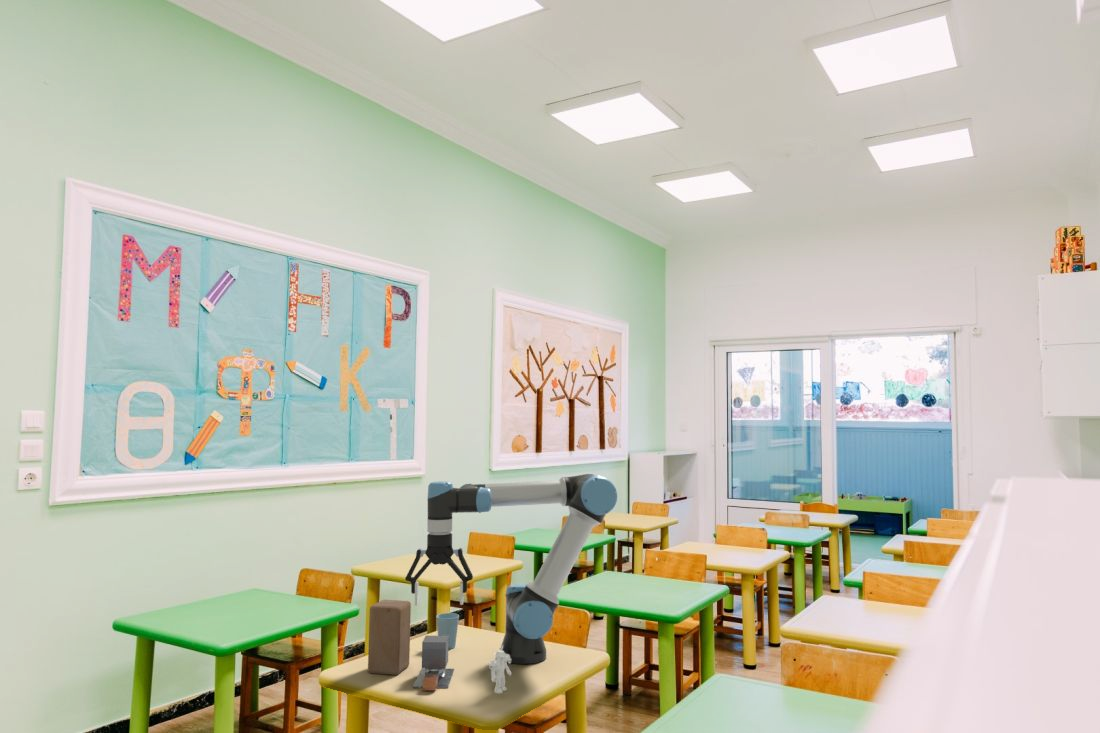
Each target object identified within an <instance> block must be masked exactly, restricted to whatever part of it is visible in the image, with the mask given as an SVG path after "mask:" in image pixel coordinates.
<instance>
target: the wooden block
mask: <svg viewBox="0 0 1100 733" xmlns="http://www.w3.org/2000/svg"><path fill="white" fill-rule="evenodd" d="M411 604H412V603H411V602H410V601H408V600H396V599H395V600H394V599H382V600H380V601H378V602H376V603H374V604H372V605H371V606H370V607H369V617H368V618H369V624H368V630H369V631H368V655H367V657H368V659H367V671H368V673H370V674H376V673H377V674H378V675H389V674H390V675H389V676H397V675H399V674H400V673H401V672H403V671H404V670H405V669H407V668H408V667H409V665H410V651H411V649H410V646H411V645H410V643H411V615H412V614H411V610H412V606H411Z"/></svg>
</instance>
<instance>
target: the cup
mask: <svg viewBox="0 0 1100 733" xmlns="http://www.w3.org/2000/svg"><path fill="white" fill-rule="evenodd" d="M435 618H436V619H435V620H436V629H437V636H449V647H448V650H453V649H454V648H456V643H457V636H458V634H457V633H458V626H459V619H460V615H459V614H458V613H453V612H445V613H440V614H437V615H436V617H435Z"/></svg>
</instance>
